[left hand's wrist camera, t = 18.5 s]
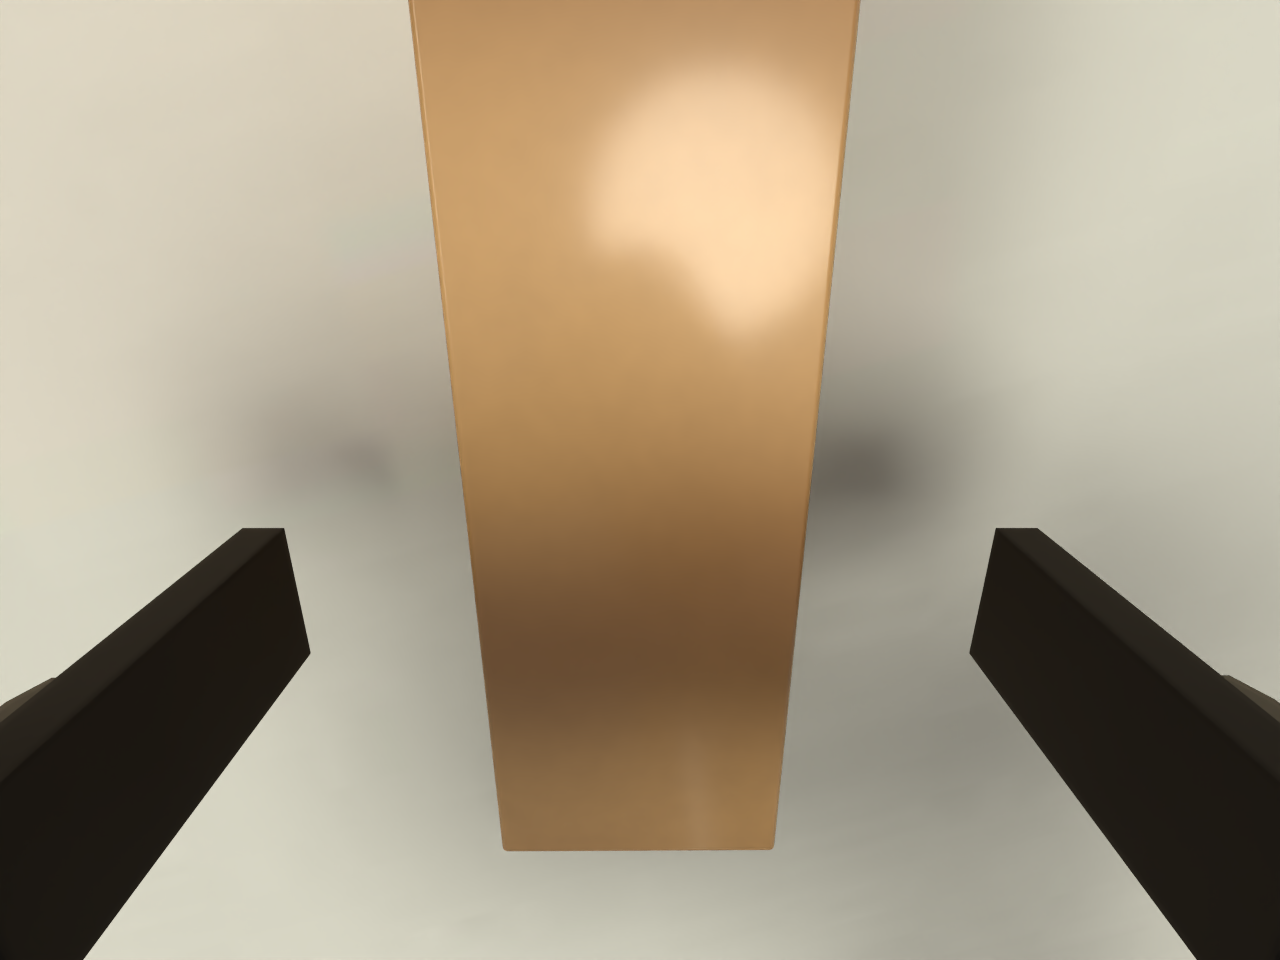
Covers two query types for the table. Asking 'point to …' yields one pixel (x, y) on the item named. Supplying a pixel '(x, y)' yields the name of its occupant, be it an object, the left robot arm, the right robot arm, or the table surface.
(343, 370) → the table surface
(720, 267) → the bar
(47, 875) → the left robot arm
